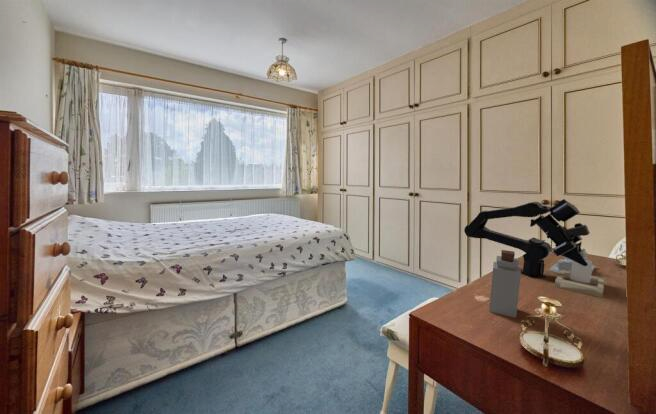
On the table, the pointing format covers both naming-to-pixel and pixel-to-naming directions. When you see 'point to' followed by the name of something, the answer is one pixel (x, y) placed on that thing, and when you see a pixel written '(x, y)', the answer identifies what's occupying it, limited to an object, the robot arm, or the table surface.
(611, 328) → the table surface
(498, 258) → the perfume bottle
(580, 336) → the table surface
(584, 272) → the eye dropper bottle
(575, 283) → the beige square frame
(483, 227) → the robot arm
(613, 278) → the table surface
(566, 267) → the silver tray
